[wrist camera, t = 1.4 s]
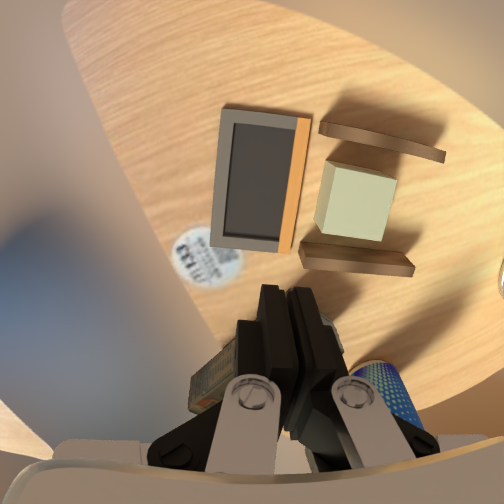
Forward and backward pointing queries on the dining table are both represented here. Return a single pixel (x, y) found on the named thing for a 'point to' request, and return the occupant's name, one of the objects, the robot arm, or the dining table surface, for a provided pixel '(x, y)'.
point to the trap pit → (257, 180)
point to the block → (354, 201)
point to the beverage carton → (222, 376)
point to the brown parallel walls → (360, 257)
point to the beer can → (389, 388)
